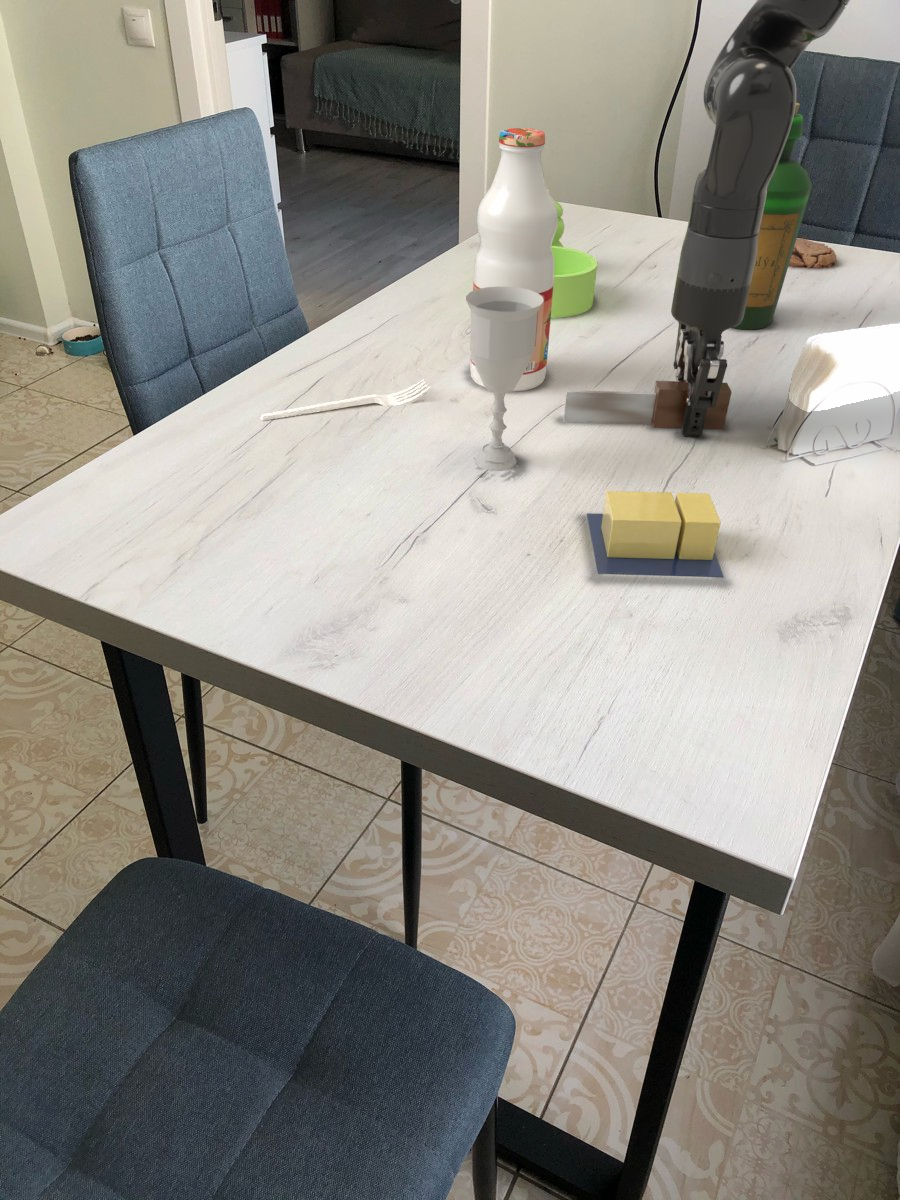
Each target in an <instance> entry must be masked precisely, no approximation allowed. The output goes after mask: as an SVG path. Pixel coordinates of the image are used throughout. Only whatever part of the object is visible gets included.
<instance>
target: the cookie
mask: <svg viewBox="0 0 900 1200" xmlns="http://www.w3.org/2000/svg"><path fill="white" fill-rule="evenodd" d="M836 264H837V254H836V252H835V250H834V249H833V248H832V247H829V246H828V245H826V244H825V243H822V242H817V241H812V240H809V239H806V238H802V237H801V238H797V239H796V242H795V245H794V249H793V252H792V256H791V259H790V262H789V266H788V267H791V268H807V269H815V270H816V269H818V270H819V269H822V268H823V269H824V268H825V269H826V268H832V266H836Z"/></svg>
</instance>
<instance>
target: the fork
mask: <svg viewBox="0 0 900 1200" xmlns="http://www.w3.org/2000/svg"><path fill="white" fill-rule="evenodd" d="M430 389H431V386H429V384H428V383H427V381H425V379H421V380H420V381H418V382H417V383H415V384H413V385H411V386H409V387H407V388H405V389H402V390H400V391H397V392H393V393H390V394H377V393H376V394H375V393H374V394H368V395H362V396H356V397H351V398H344V399H340V400H333V401H328V402H323V403H317V404H312V405H311V404H310V405H306V406H301V407H295V408H290V409H284V410H278V411H274V412H268V413H263V414H261V415H260V420H261V421H262V422H263V421H264V422H265V421H269V420H275V419H277V420H278V419H283V418H289V417H294V416H301V415H308V414H312V413H319V412H325V411H331V410H337V409H344V408H351V407H355V406H362V405H368V404H378V405H380V406H383V407H396V406H403V405H411V404H412V403H413V402H415V401H417V400H419V399H420V398H421V397H422V396H423V395H424V394H426V393H427V392H428V391H429V390H430Z"/></svg>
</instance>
